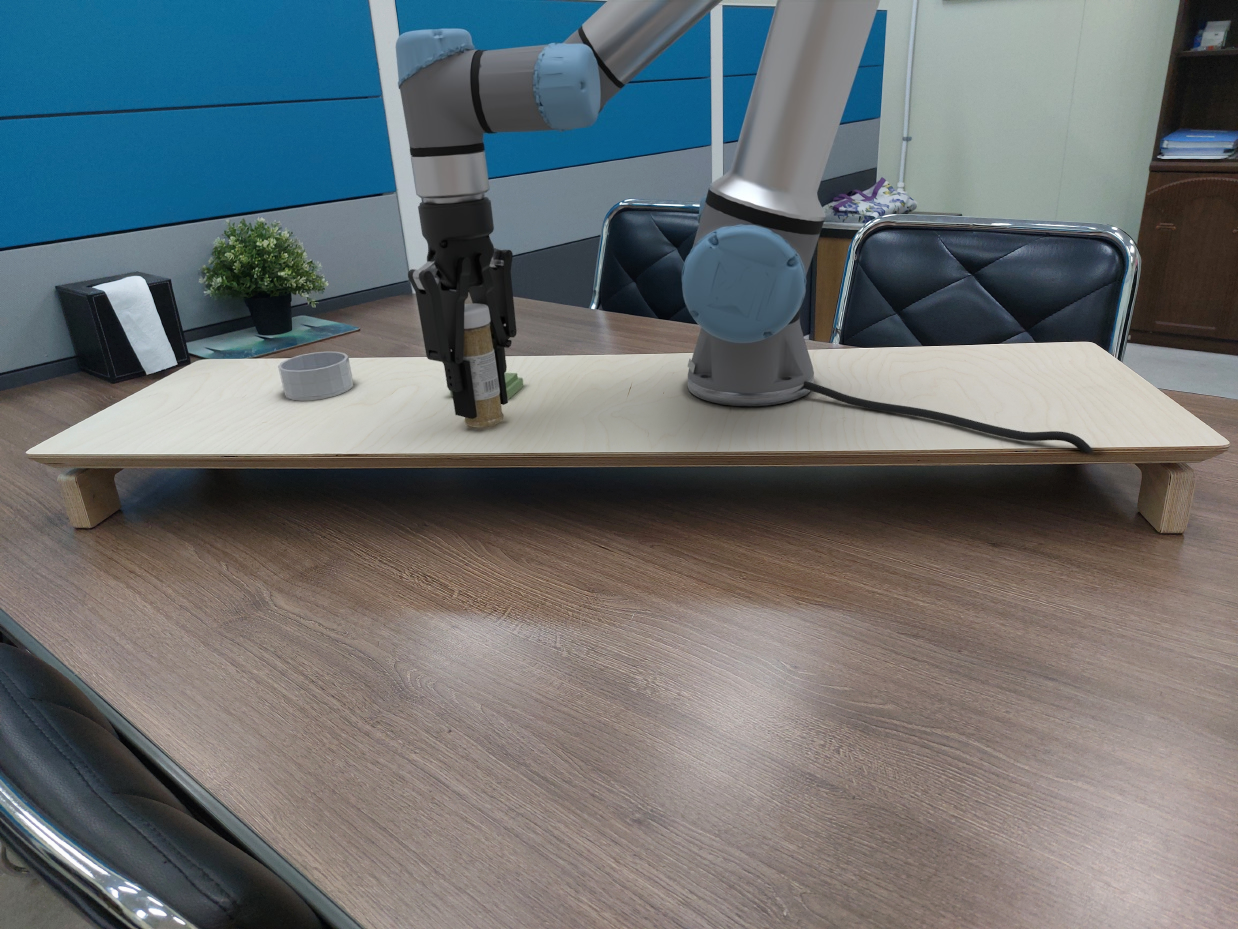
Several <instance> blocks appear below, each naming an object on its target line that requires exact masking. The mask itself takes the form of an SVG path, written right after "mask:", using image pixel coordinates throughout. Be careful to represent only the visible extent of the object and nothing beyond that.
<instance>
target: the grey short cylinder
mask: <svg viewBox="0 0 1238 929" xmlns="http://www.w3.org/2000/svg"><path fill="white" fill-rule="evenodd" d="M351 367H352V366H351V363H350V357H349V355H348V354H346V353H345V352H341V351H318V352H309V353H305V354H300V355H295V356H293V357H289V358H288V359H285V360H283V361H281V362H280V363H279V364H278V365H277V368H278V372H279V376H280V381H281V386H282V389H283V393H284V395H285V397H286V398H287V399H289V400H292V401H303V402H304V401H305V402H306V401H307V402H309V401H318V400H324V399H329V398H333V397H336V396H340V395H342V394H344V393H347V392H348V391H349V390H352V388H353V387H354V377H353V373H352V368H351Z"/></svg>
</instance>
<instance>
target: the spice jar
mask: <svg viewBox="0 0 1238 929" xmlns="http://www.w3.org/2000/svg"><path fill="white" fill-rule="evenodd" d="M490 321H491V320H490V313H489V308H488V306H487V305H485V304H477V303H472V302H471V303H465V309H464V347H463V360H465V361H470V368H471V376H472V383H473V390H474V398H475V405H476V412H477V417H476V418H474V419H470V418H466V417H464V422H465V425H467V426H470V427H473V428H487V427H491V426H492V427H493V426H496V425H498V424H499V423H500V422H502V421H503V420H504V417H505V415H504V413H503V410H502V404H501V402H500V395H499V393H500V389H499V382H498V374H497V367H496V360H495V353H494V349H493V344H492V339H491V331H490Z"/></svg>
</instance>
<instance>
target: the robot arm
mask: <svg viewBox="0 0 1238 929" xmlns="http://www.w3.org/2000/svg"><path fill="white" fill-rule="evenodd" d="M880 1H881V0H776V4H775V7H774V10H773V15H772V18H771V22H770V25H769V27H768V28H769V29H768V32H767V36H766V39H765V43H764V47H763V50H762V54H761V58H760V60H759V64H758V69H757V72H756V76H755V79H754V82H753V87H752V90H751V94H750V96H749V100H748V104H747V107H746V110H745V115H744V119H743V121H742V122H743V123H742V126H741V129H740V133H739V137H738V140H737V144H736V147H735V151H734V154H733V157H732V162H731V165H730V168H729V170H728V171H727V172H726V173H724V174H723V175H722V176H720V177H719V178H717V179H715V180H713V181H712V182H711V183H709V187H708V190H707V194H705V195H704V196H702V197H701V199H700V201H699V209H698V215H697V217H696V218H697V223H698V227H697V229H696V234H695V238H694V241H693V245H692V248H691V249H690V251H689V253H688V255H687V256H686V258H685V260H684V263H683V266H682V269H681V277H680V278H681V280H680V282H681V290H682V297H683V300H684V303H685V307H686V308H687V311H688V312H689V314H690V316H691V317H692V319H693V320H694V321H695V322H696V324H697V325H698V326H699V327H700V331H699V334H698V337H697V340H696V343H695V347H694V350H693V353H692V357H691V358H689V359H688V362H687V368H688V372H687V388H688V391H689V392H690V393H691V394H692V395H694V397H697V398H699V399H701V400H703V401H706V402H710V403H713V404H718V405H724V406H725V405H726V406H734V407H735V406H736V407H763V406H772V405H773V406H774V405H778V404H785V403H788V402H792V401H796V400H798V399H800V398H803V397H804V396H806V395H808V394H809V393H811V392H814V393H817V394H820V395H823V396H826V397H828V398H831V399H833V400H836V401H837V402H838V401H839V402H842V403H844V404H847V405H852V406H855V407H859V408H864V409H869V410H874V411H881V412H887V413H895V414H900V415H907V416H914V417H919V418H925V419H929V420H934V421H939V422H942V423H947V424H950V425H955V426H959V427H963V428H965V429H970V430H974V431H977V432H982V433H984V434H988V435H993V436H996V437H997V436H998V437H1001V438H1007V439H1012V440H1016V441H1024V442H1042V441H1043V442H1045V441H1061V442H1066V443H1069V444H1071V445H1072V446H1074V447H1075V448H1077V449H1078V450H1079V451H1080V452H1081V453H1084V454H1088V455H1089V454H1090V455H1091V454H1094V453H1095V452H1094V450H1093V448H1092V447H1091V446H1090V445H1089V443H1087V442H1086V441H1085V440H1084V439H1083V438H1081V437H1079V436H1077V434H1073V433H1070V432H1068V431H1067V432H1066V431H1061V430H1060V431H1059V430H1058V431H1057V430H1051V431H1050V430H1049V431H1021V430H1016V429H1012V428H1006V427H1001V426H997V425H993V424H990V423H989V424H988V423H983V422H981V421H977V420H973V419H969V418H966V417H961V416H957V415H953V414H949V413H946V412H945V413H944V412H940V411H936V410H930V409H925V408H920V407H913V406H907V405H902V404H901V405H899V404H893V403H886V402H879V401H874V400H868V399H864V398H859V397H856V396H852V395H848V394H845V393H842V392H839V391H837V390H834V389H832V388H828V387H826V386H823V385H819V384H816V383H814V382H815V381H814V380H815V379H814V378H815V371H814V366H813V362H812V360H811V356H810V352H809V350H808V347H807V343H806V340H805V339H806V338H805V336H804V333H803V329H802V327H801V307H802V305H803V302H804V300H805V297H806V293H807V288H806V285H807V274H808V271H809V269H810V266H811V262H812V260H813V257H814V253H815V251H816V247H817V245H818V241H819V238H820V235H821V232H822V229H823V226H824V223H825V220H826V217H827V214H826V212H825V210H824V208H823V206H822V204H821V202H820V200H819V196H818V191H819V188H820V185H821V182H822V179H823V176H824V173H825V170H826V166H827V163H828V160H829V157H830V154H831V152H832V148H833V146H834V142H835V139H836V137H837V133H838V130H839V127H840V124H841V120H842V119H843V118H842V117H843V115H844V112H845V109H846V106H847V102H848V100H849V97H850V94H851V91H852V88H853V84H854V81H855V79H856V75H857V72H858V69H859V66H860V63H861V59H862V57H863V54H864V50H865V47H866V44H867V42H868V39H869V35H870V33H871V31H872V30H871V29H872V26H873V23H874V20H875V17H876V14H877V11H878V9H879V5H880ZM721 2H723V0H607V1H606V2H605V3H603V5H601V7H599V8H598V9H597V10H596V11H595V12H594V13H593V14H592V15H591V16H590V17H588V18H587V19H586V20H585V21H584V23H582V25H581V26H580V27H579V28H577V29H576V31H574V32H573V33H571V35H570V36H568V37H567V38H566V39H565V40H564V41H563V42H551V43H549V44H542V45H541V44H539V45H531V46H520V47H519V46H518V47H509V48H500V49H491V50H488V49H476V46H475V45H474V44H473V39H472V34H471V33H470V32H469V31H467V30H466V29H463V28H438V29H437V28H436V29H431V28H430V29H418V30H409V31H406V32H404V33H401V34H400V35H399V36H398V37H397V39H396V41H395V56H396V66H397V75H398V76H397V77H398V78H397V79H398V81H397V87H398V90H399V92H400V93H399V94H400V98H401V104H402V105H401V106H402V110H403V116H404V121H405V128H406V132H407V133H406V134H407V139H408V146H409V155H410V162H411V170H412V176H413V183H414V188H415V195H416V196H417V197H419V198H421V199H423V201H420V203H419V205H418V206H417V208H418V210H417V211H418V216H419V224H420V229H421V235H422V236H423V239H425V241H426V243H427V245H428V246H427V248H428V249H427V255H426V262H425V263H424V264H423V265H422V266H421V267H419V268H417V269H415V268H414V269H413V268H411V269H410V270H409V271H408V272H407V278H408V281H409V282H410V285H411V286H412V289H413V290H414V292H415V298H416V304H417V310H418V315H419V320H420V327H421V332H422V338H423V344H424V350H425V356H426V358H427V360H430V361H435V362H440V363H442V364H443V368H444V373H445V381H446V387H447V389H448V390H449V391H452V395H453V397H452V402H453V408H454V415H455V416H457V417H462V418H465V417H466V418H470V419H474V418H476V417H477V412H476V405H475V398H474V390H473V383H472V376H471V368H470V361H465V360H463V347H464V309H465V304H466V303H465V302H466V300H467V299H468V298H469V297H470V300H471V304H472V303H477V304H485V305H487V306H488V308H489V313H490V320H491V321H490V331H491V339H492V344H493V349H494V353H495V360H496V367H497V374H498V382H499V389H500V393H499V395H500V402H501V406H502V405H503V406H504V405H506V404H508V403H509V399H507V390H506V382H505V374H504V373H507V368H508V366H507V358H506V350H505V349H506V348H507V349H509V348H511V346H512V340H511V338H515V337H516V336H517V321H516V311H515V302H514V292H513V291H514V290H513V280H512V265H513V258H514V257H513V256H514V253H513V251H512V250H511V249H503V248H497V247H494V244H493V242H492V240H491V237H490V235H491V234H492V233H493V232H494V230H495V225H494V216H493V209H492V200H491V199H490V198H489V197H488V196H486V193H488V192H489V190H490V182H489V174H488V165H487V158H486V151H485V150H486V148H485V143H484V134H491V135H493V134H497V133H526V132H528V133H529V132H546V131H557V132H563V133H564V132H566V131H572V130H574V129H575V130H576V129H584V128H589V127H592V126H593V125H594V124H595V123H596V122H597V121H598V120H597V119H598V118H599V117H598V116H599V115H600V114H601V112H602V111H603V110H604V108H605V106H606V104H607V102H608V101H610V100H611V99H612V98H613V97H615V96H616V95H617V94H619V92H621V90H622V89H623V88H624V87H625V86H626V85H627V84H629V83H630V82H631V81H632V80H633V79H634V78H635V77H636V76H638V75H639V74H640V73H641V72H642V71H644V70H645V69H646V67H648V66H650V65H651V63H653V62H654V61H656V59H658V57H659V56H661V55H662V54H663V53H664V52H666V50H668V48H670V47H671V46H672V45H674V43H676V42H677V41H678V40H679V39H680V38H681V37H682V36H684V35H685V34H686V33H687V32H688V31H689V30H691V29H692V28H693V27H694V26H695V25H696V24H698V23H699V22H700V20H702V19H703V18H705V16H707V15H708V14H709V13H710V12H711V11H712V10H713V9H715V8H716V7H717V6H718V5H719V4H720V3H721ZM469 295H470V296H469Z"/></svg>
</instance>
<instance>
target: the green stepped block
mask: <svg viewBox="0 0 1238 929" xmlns="http://www.w3.org/2000/svg"><path fill="white" fill-rule="evenodd" d="M504 374H505V382H506V390H507V399H508V400H510V399H511V398H512V397H513V396H514V395H516V394H517V393H518V392H519V391H520V390H521V389H522V388H523V387H524V379H523V377H519V376H518V373H517V372H505V373H504ZM449 391H450V390H449ZM450 397H451V398H453V395H452V391H450Z"/></svg>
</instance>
